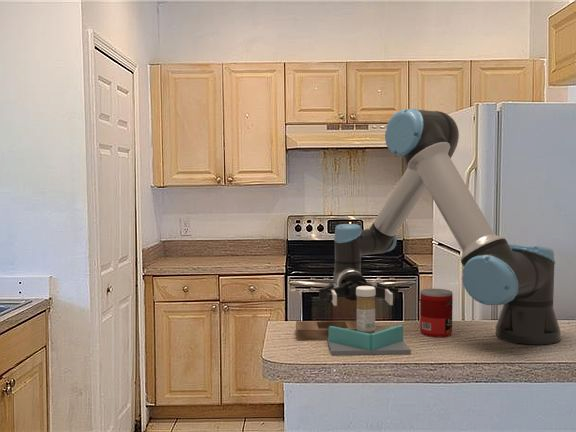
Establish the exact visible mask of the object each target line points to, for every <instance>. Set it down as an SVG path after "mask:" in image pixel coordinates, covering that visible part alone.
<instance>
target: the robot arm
mask: <svg viewBox="0 0 576 432" xmlns="http://www.w3.org/2000/svg"><path fill="white" fill-rule="evenodd" d="M459 138H460V133H459V128H458V125H457V123H456V121H455V119H453V117H451V115H449V114H448V113H446V112H443V111H439V110H426V109H423V110H422V109H416V108H409V109H408V108H407V109H400V110H399V111H396V113H394V114H393V115H392V116H391V117H390V119H389V121H387V125H386V130H385V134H384V140H385V144H386V147H387V149H388V151H390V152H391V153H392V154H394V155H395V156H398V157H402V158H403V160H404V162H405V164H406V166H407V168H406V170H405V171H404V173H403V174H402V176H401V178H400V180H399V181H398V182H397V184H396V186H395V188H394V189H393V191H392V192H391V194H390V195H389V197H388V198H387V200H386V202H385V204H383V207H382V208H381V210H380V212H379V213H378V214H377V217H376V218H375V219H374V221H373V223H372V224H371V226H370V227H369V228H367V229H365V228H364V229H362V227H361V226H360V225H359V224H356V223H354V224H353V223H343V224H342V223H341V224H337V225H336V226H335V228H334V229H335V230H334V238H333V239H334V240H333V241H334V271H333V279H332V280H333V282H334V283H332V282H331V283H329V284H327V285H326V286H323V287H322V288H319V289H318V298H319V299H318V300H321V301H322V300H324V299H325V300H326V303H327V304H331V303H332V305H333V306H334V307H337V306H338V298H345V299H346V300H349V301H357V297H356V296H357V295H356V288H357V287H359V286H372V287H375V290H376V295H375V298H381V299H384V300H385V301H386V303H387V304H388V305H389V306H393V305H394V300H398V299H399V298H400V297H399V288H397V287H394V286H392V285H391V286H390V285H386V284H382V283H380V282H376V283H375V284H374V285H373V284H372V283H368V282H367V280H366V278H365V277H364V275H362V272H361V271H362V265H361V264H362V256H366V255H367V256H368V255H375V254H376V255H377V254H385V253H387V252H388V253H389V252H390V251H392V250H394V249H395V247H397V242H398V241H397V240H398V237H397V233H398V232H399V231H400V229H401V227H402V226H403V224H404V223H405V221H406V220H407V218H408V217H409V215H410V214H411V212H413V209H414V208H415V206H416V205H417V203H418V202H419V200H420V198H422V196H423V195H424V192H425V191H426V190H428V192H429V194H430V196H431V198H432V200H433V201H434V203H435V205H436V207H437V208H438V210H439V212H440V214H441V216H442V218H443V219H444V221H445V223H446V224H447V227H448V228H449V230H450V231H451V234H452V236H453V237H454V239H455V241H456V243H457V244H458V246H459V247H460V249H461V251H462V254H461V258H460V260H459V261H460V263H461V264H462V266H463V269H462V277H461V280H462V284H463V287H464V289H465V292H466V293H467V294H468V295H469V296H470V297H471V298H472V299H473V300H474V301H476V302H478V303H480V304H482V305H486V306H501V305H503V306H502V308H501V310H500V313H499V316H498V319H497V321H496V326H495V337H497V338H498V339H500V340H503V341H506V342H510V343H517V344H523V345H550V344H552V345H553V344H555V343H558V342H560V341H561V329H560V326H559V322H558V319H557V315H556V312H555V309H554V296H555V295H554V291H555V290H554V289H555V287H554V286H555V265H556V260H555V252H554V250H553V249H552V248H551V247H549V246H537V245H528V244H518V243H517V244H514V243H509V242H508V241H507V239H506V238H505V237H503V236H499V235H496V233H495V232H494V230H493V228H492V227H491V224H490V223H489V221H488V220H487V218H486V216H485V215H484V213H483V211H482V210H481V208H480V206H479V204H478V203H477V201H476V200H475V198H474V196H473V194H472V193H471V191H470V189H469V187H468V186H467V184H466V183H465V181H464V178H463V177H462V175H461V174H460V172H459V171H458V169H457V167H456V166H455V164H454V162H453V160H452V159H451V158H452V157H453V155H454V153H455V152H456V149H457V146H458V143H459Z"/></svg>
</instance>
